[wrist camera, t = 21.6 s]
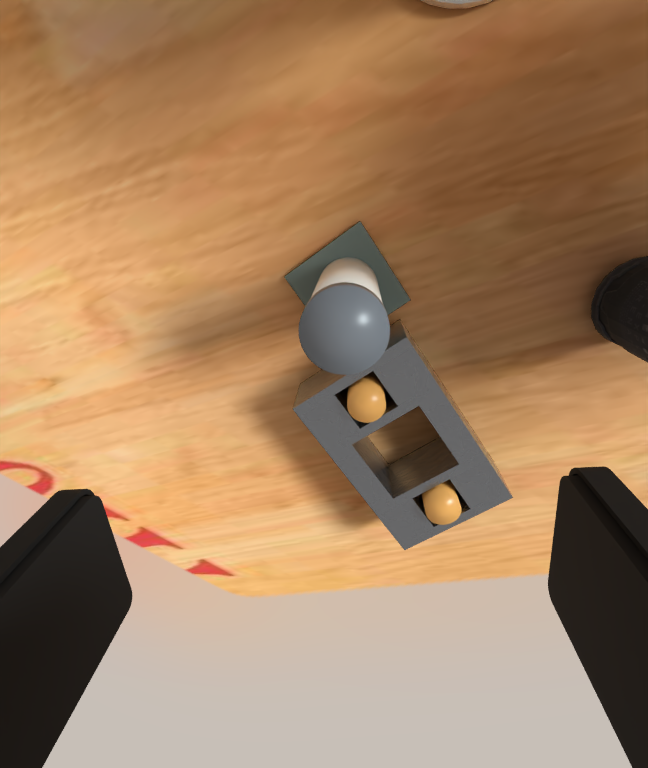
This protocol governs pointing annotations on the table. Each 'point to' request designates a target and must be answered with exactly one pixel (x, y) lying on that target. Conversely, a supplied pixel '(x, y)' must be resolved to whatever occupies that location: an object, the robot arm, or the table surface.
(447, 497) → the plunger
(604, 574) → the robot arm
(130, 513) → the table surface
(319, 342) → the ball
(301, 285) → the mat
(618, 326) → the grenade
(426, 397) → the housing
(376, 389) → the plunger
